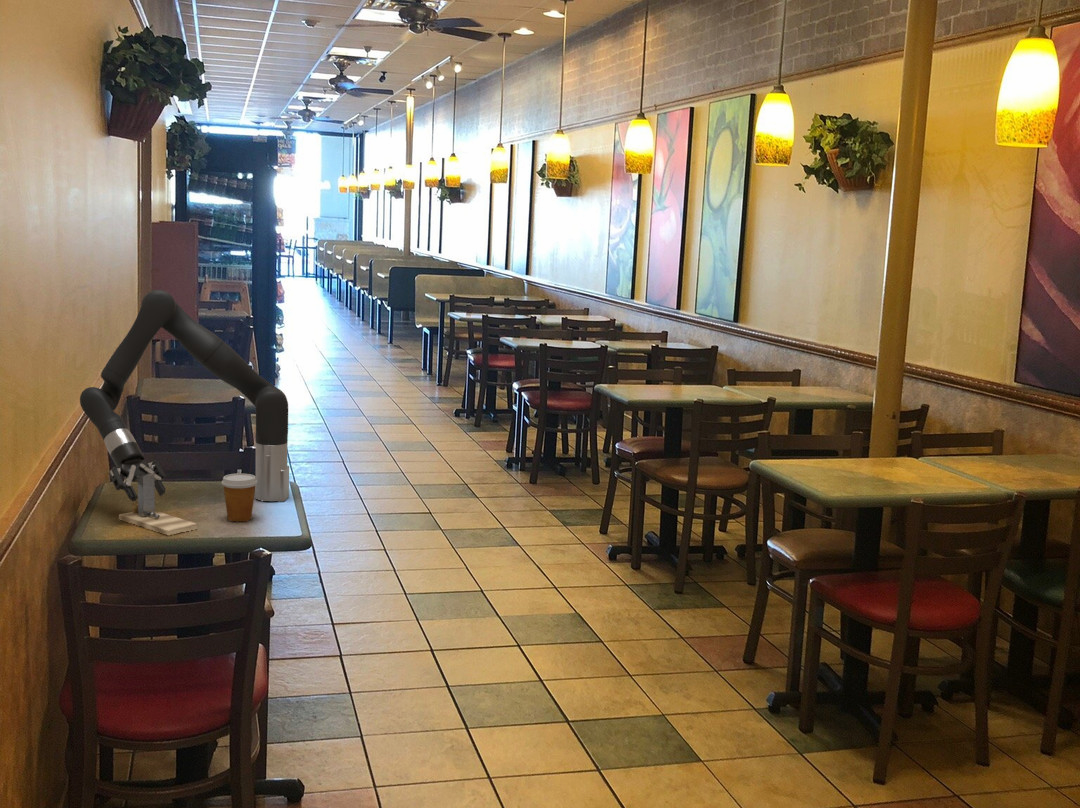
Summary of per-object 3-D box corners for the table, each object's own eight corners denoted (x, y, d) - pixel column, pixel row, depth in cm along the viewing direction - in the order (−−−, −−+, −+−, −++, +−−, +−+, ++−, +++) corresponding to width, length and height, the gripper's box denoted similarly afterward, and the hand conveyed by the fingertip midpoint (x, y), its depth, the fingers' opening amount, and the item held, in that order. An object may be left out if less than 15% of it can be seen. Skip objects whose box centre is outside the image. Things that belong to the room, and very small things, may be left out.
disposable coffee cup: (255, 523, 292) (255, 481, 290) (219, 523, 290) (219, 481, 289) (258, 514, 301) (258, 473, 299) (223, 514, 300) (223, 472, 298)
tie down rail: (197, 529, 284) (197, 514, 284) (168, 536, 277) (168, 521, 276) (147, 513, 297) (147, 499, 296) (118, 520, 290) (118, 505, 289)
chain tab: (163, 517, 288) (163, 477, 286) (152, 519, 285) (151, 479, 283) (143, 510, 293) (143, 471, 291) (132, 513, 290) (131, 474, 288)
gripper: (105, 444, 285) (131, 493, 280) (151, 437, 296) (177, 484, 292) (94, 460, 289) (120, 509, 284) (140, 453, 300) (166, 499, 296)
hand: (149, 496), depth 288 cm, fingers open, 8 cm apart
